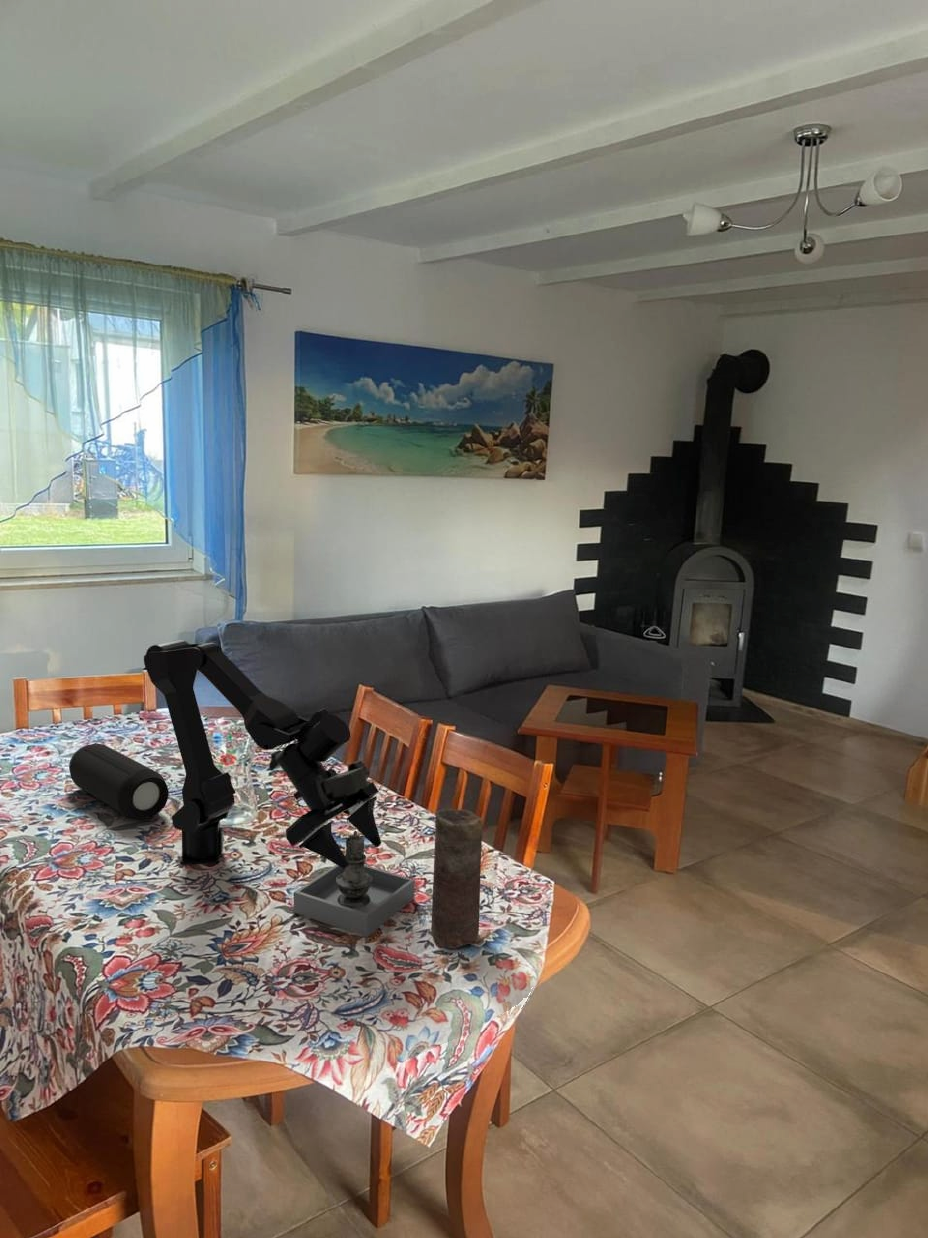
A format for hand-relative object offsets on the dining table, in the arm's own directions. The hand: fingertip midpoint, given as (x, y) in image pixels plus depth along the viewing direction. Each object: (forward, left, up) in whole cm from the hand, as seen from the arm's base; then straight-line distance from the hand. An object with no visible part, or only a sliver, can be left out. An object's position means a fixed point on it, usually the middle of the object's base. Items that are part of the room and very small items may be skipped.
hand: (363, 856), depth 144 cm
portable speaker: (-48, +45, -9) cm, 67 cm away
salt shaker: (-1, +1, -8) cm, 8 cm away
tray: (-1, +1, -9) cm, 9 cm away
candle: (+14, -10, -9) cm, 19 cm away
